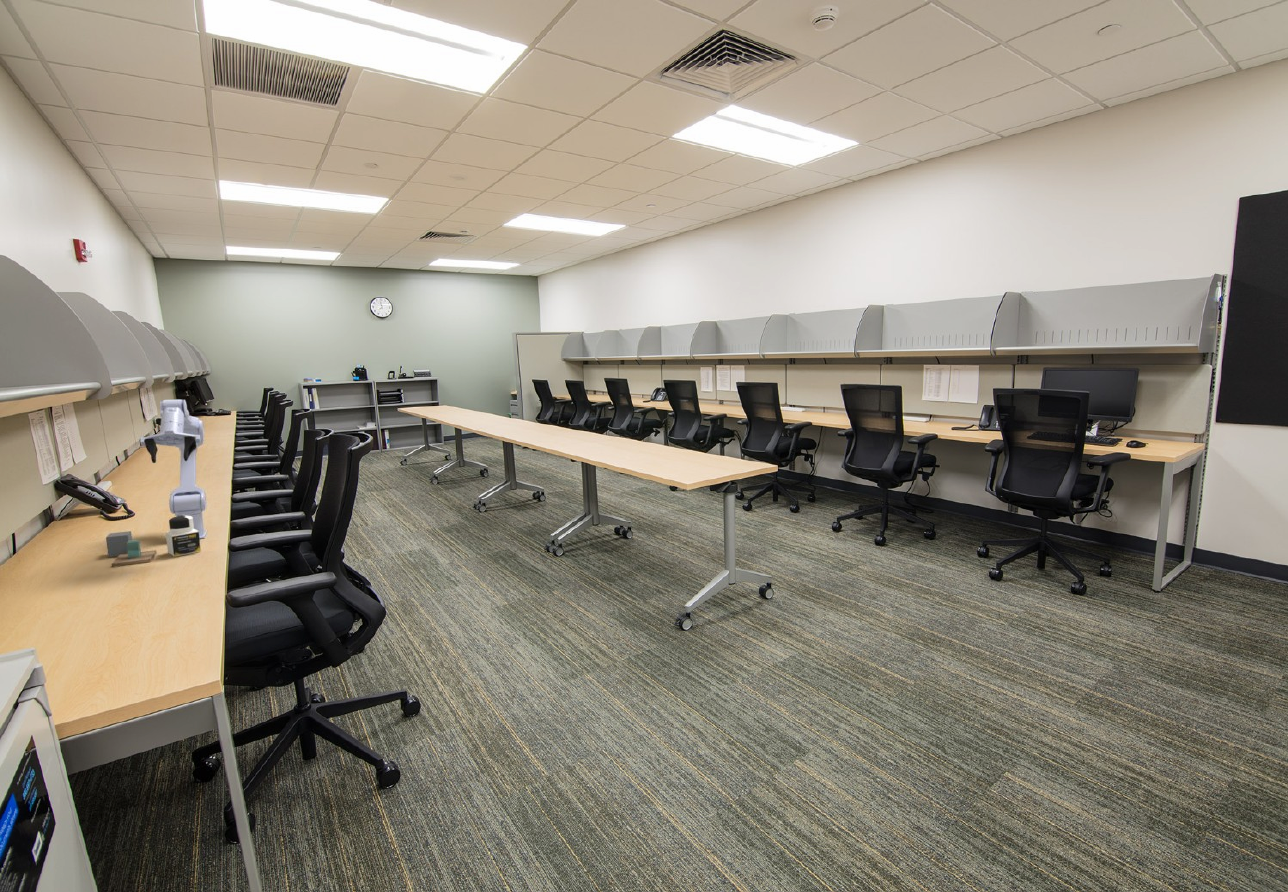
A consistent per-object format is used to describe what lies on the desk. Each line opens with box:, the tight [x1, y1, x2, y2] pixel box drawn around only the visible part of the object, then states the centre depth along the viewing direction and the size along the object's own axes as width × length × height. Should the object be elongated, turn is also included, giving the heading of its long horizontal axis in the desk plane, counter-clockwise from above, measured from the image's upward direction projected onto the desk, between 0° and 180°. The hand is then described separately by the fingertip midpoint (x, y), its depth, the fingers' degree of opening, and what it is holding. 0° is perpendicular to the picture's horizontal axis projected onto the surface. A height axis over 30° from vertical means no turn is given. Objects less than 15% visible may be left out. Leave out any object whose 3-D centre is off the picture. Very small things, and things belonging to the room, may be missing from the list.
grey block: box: [105, 530, 133, 558], centre depth 183 cm, size 5×5×7 cm
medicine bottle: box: [165, 516, 202, 558], centre depth 184 cm, size 7×7×12 cm
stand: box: [111, 539, 157, 568], centre depth 177 cm, size 10×9×6 cm
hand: (169, 459), depth 174 cm, fingers open, 7 cm apart
